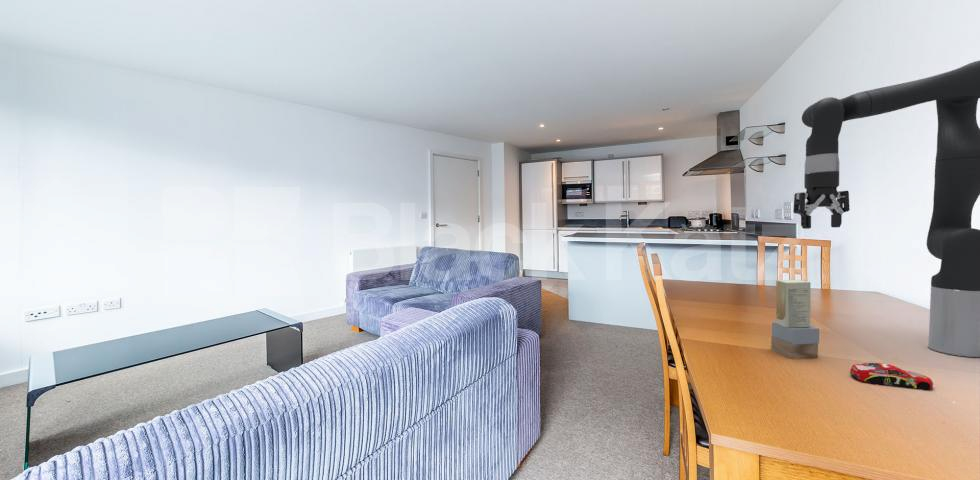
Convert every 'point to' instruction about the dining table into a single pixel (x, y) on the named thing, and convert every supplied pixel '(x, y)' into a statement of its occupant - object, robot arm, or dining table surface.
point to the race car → (890, 376)
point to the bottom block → (794, 349)
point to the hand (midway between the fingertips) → (821, 227)
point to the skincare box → (793, 303)
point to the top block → (796, 334)
